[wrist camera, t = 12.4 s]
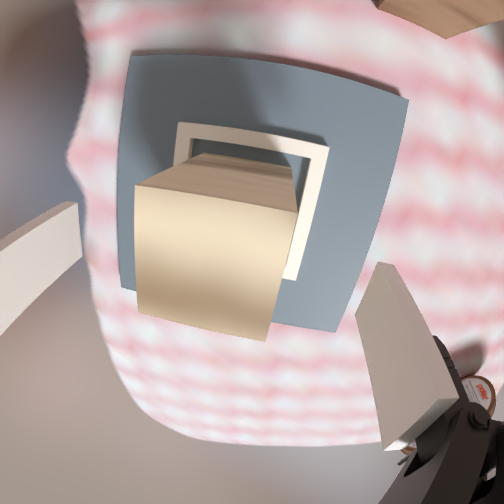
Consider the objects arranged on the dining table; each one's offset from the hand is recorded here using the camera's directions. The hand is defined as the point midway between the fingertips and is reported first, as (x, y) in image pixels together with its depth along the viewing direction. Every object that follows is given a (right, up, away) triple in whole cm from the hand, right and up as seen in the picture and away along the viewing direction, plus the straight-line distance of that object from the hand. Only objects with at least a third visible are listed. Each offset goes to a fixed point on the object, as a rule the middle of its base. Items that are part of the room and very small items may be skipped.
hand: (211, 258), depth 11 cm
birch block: (+1, +4, +9) cm, 10 cm away
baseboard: (+1, +4, +10) cm, 11 cm away
